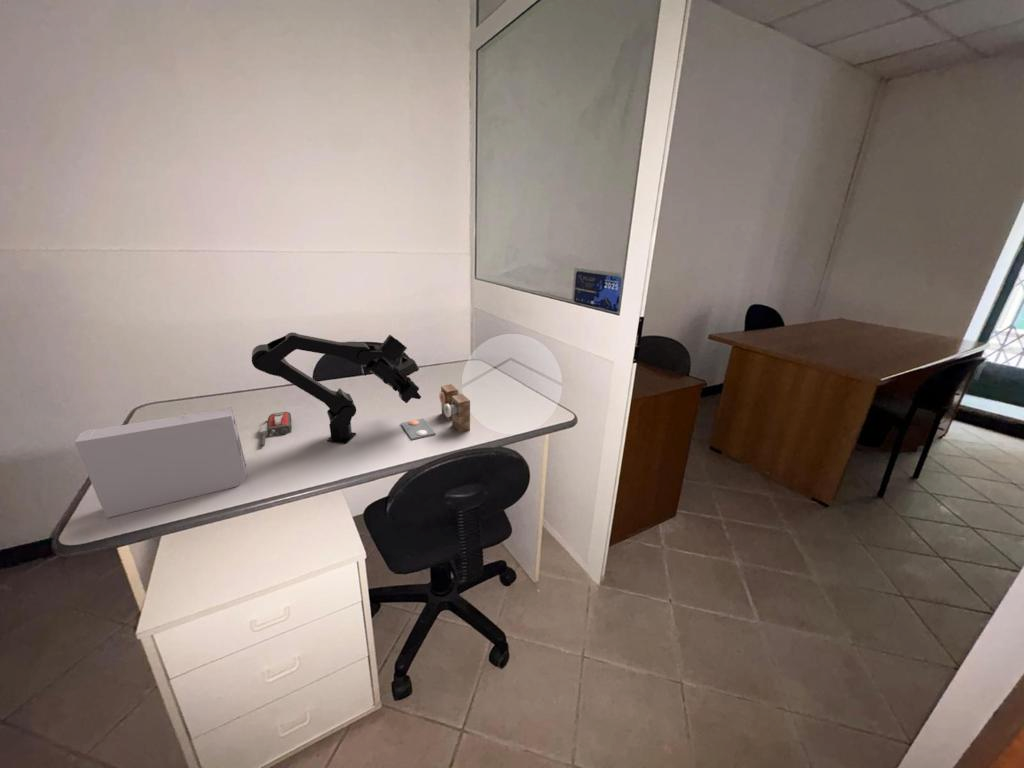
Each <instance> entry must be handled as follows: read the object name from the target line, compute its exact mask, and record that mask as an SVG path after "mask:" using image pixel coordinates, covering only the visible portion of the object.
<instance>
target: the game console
mask: <svg viewBox="0 0 1024 768" xmlns="http://www.w3.org/2000/svg"><path fill="white" fill-rule="evenodd" d="M233 409H234V408H233V406H230V407H225V408H220V409H214V410H213V409H212V410H207V411H206V410H204V411H200V412H192V413H186V414H184V415H179V416H170V417H166V418H160V419H153V420H146V421H140V422H134V423H128V424H127V423H126V424H122V425H115V426H108V427H104V428H98V429H97V428H92V429H87V430H85V431H82V432H80V434H79V435H78V437H77V438H76V439H75V441H74V444H75V447H76V449H77V452H78V455H79V456H80V459H81V461H82V463H83V466H84V468H85V470H86V473H87V475H88V478H89V480H90V482H91V485H92V488H93V490H94V493H95V494H96V497H97V500H98V502H99V503H100V504H99V505H100V506H101V508H102V511H103V514H104V515H105V518H106V519H109V518H112V517H116V516H117V517H118V516H120V515H125V514H126V515H127V514H128V513H135V512H137V511H142V510H145V509H150V508H154V507H157V506H163V505H166V504H170V503H174V502H178V501H179V502H180V501H183V500H186V499H190V498H191V499H192V498H196V497H198V496H204V495H207V494H210V493H211V494H212V493H215V492H218V491H219V492H220V491H224V490H227V489H232V488H235V487H239V486H240V485H241V483H243V481H244V480H245V478H246V477H247V462H246V459H245V455H244V450H243V447H242V443H241V438H240V434H239V430H238V427H237V426H238V425H237V421H236V418H235V414H234V410H233Z"/></svg>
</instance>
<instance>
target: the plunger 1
mask: <svg viewBox="0 0 1024 768" xmlns="http://www.w3.org/2000/svg"><path fill="white" fill-rule="evenodd" d="M460 394H461V391H460V390H458V395H460ZM439 401H440V404H446V394H445V393H444V392H441V391H440V392H439Z"/></svg>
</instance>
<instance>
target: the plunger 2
mask: <svg viewBox="0 0 1024 768" xmlns="http://www.w3.org/2000/svg"><path fill="white" fill-rule="evenodd" d="M444 412H445V415H446V416H447V417H450V416H451V415H452V414H456V413H458V406H457V405H456V404H453V405H449V404H445V405H444Z"/></svg>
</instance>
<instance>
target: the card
mask: <svg viewBox="0 0 1024 768" xmlns="http://www.w3.org/2000/svg"><path fill="white" fill-rule="evenodd" d="M400 426H402V428H403V430H404V431H405V432H406V434H407V436H408V437H409V438H410V440H411V441H414V440H418V439H419V440H420V439H422V438H427V437H431V436H436V432H435V431H434V430H433V429H432V427H431V426H430V424H429V423H427V421H426V420H425V419H424V418H418V419H411V420H408V421H404V422H401V423H400Z"/></svg>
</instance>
